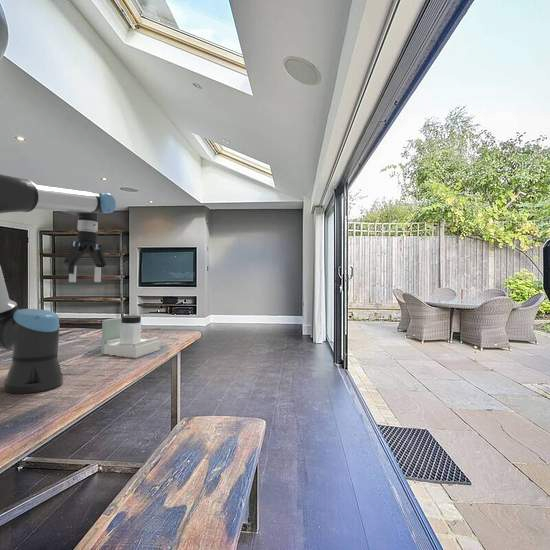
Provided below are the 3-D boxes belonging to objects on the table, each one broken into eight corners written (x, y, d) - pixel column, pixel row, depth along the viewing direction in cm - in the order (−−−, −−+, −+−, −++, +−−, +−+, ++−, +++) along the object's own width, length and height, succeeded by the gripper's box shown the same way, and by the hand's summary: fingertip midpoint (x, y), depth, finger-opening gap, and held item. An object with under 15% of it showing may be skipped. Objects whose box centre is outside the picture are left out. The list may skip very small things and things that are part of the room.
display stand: (135, 357, 148) (137, 322, 148) (101, 354, 152) (102, 320, 153) (159, 349, 166) (160, 318, 166) (127, 346, 170) (129, 316, 170)
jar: (142, 343, 156) (143, 317, 156) (123, 345, 151) (124, 318, 151) (136, 340, 163) (137, 315, 163) (117, 342, 158) (119, 315, 158)
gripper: (70, 227, 133) (68, 282, 133) (115, 235, 157) (113, 282, 157) (54, 227, 135) (52, 281, 134) (101, 235, 159) (99, 281, 159)
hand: (85, 282), depth 146 cm, fingers open, 13 cm apart
